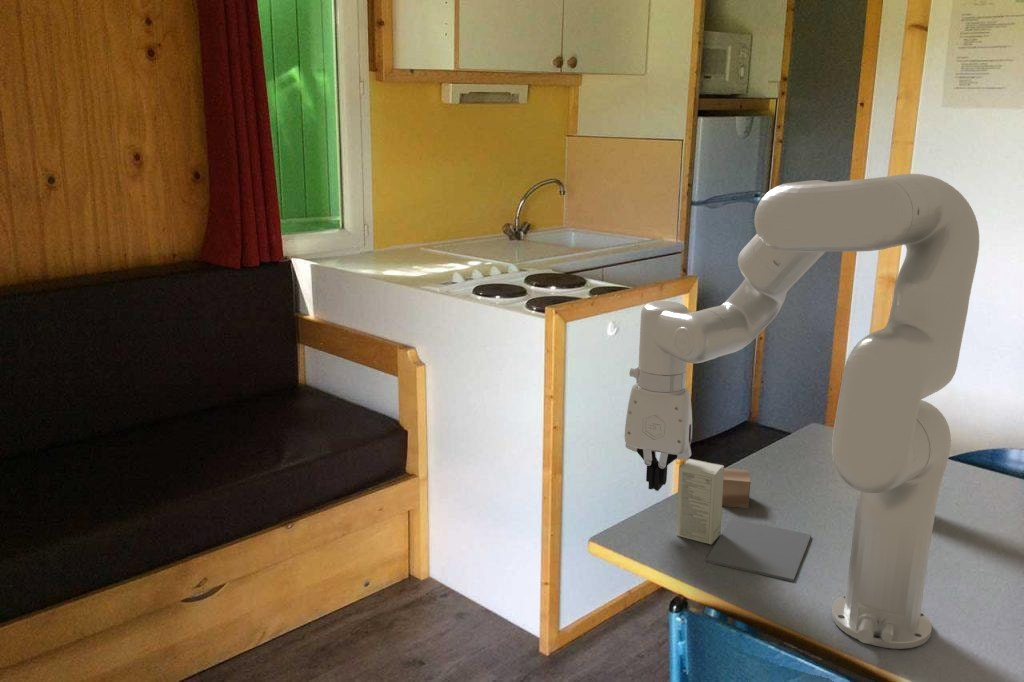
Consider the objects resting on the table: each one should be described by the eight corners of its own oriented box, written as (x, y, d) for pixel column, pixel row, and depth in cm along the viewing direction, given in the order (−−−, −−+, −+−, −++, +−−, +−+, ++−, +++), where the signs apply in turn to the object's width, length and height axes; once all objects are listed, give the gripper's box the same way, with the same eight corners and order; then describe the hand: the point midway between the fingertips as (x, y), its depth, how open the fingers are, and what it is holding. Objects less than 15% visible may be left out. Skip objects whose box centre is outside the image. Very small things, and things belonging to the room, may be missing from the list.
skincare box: (721, 535, 150) (726, 465, 147) (711, 546, 146) (716, 474, 143) (684, 525, 153) (689, 457, 150) (674, 535, 150) (678, 466, 147)
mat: (793, 581, 136) (793, 579, 136) (706, 561, 141) (706, 559, 141) (810, 536, 150) (811, 534, 150) (730, 520, 155) (731, 518, 155)
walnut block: (748, 508, 160) (750, 481, 159) (718, 505, 161) (720, 479, 160) (747, 496, 165) (749, 470, 164) (718, 494, 166) (720, 468, 164)
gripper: (609, 379, 146) (604, 486, 151) (702, 393, 140) (694, 504, 145) (624, 367, 153) (620, 470, 158) (714, 380, 147) (707, 487, 151)
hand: (656, 486), depth 151 cm, fingers closed
